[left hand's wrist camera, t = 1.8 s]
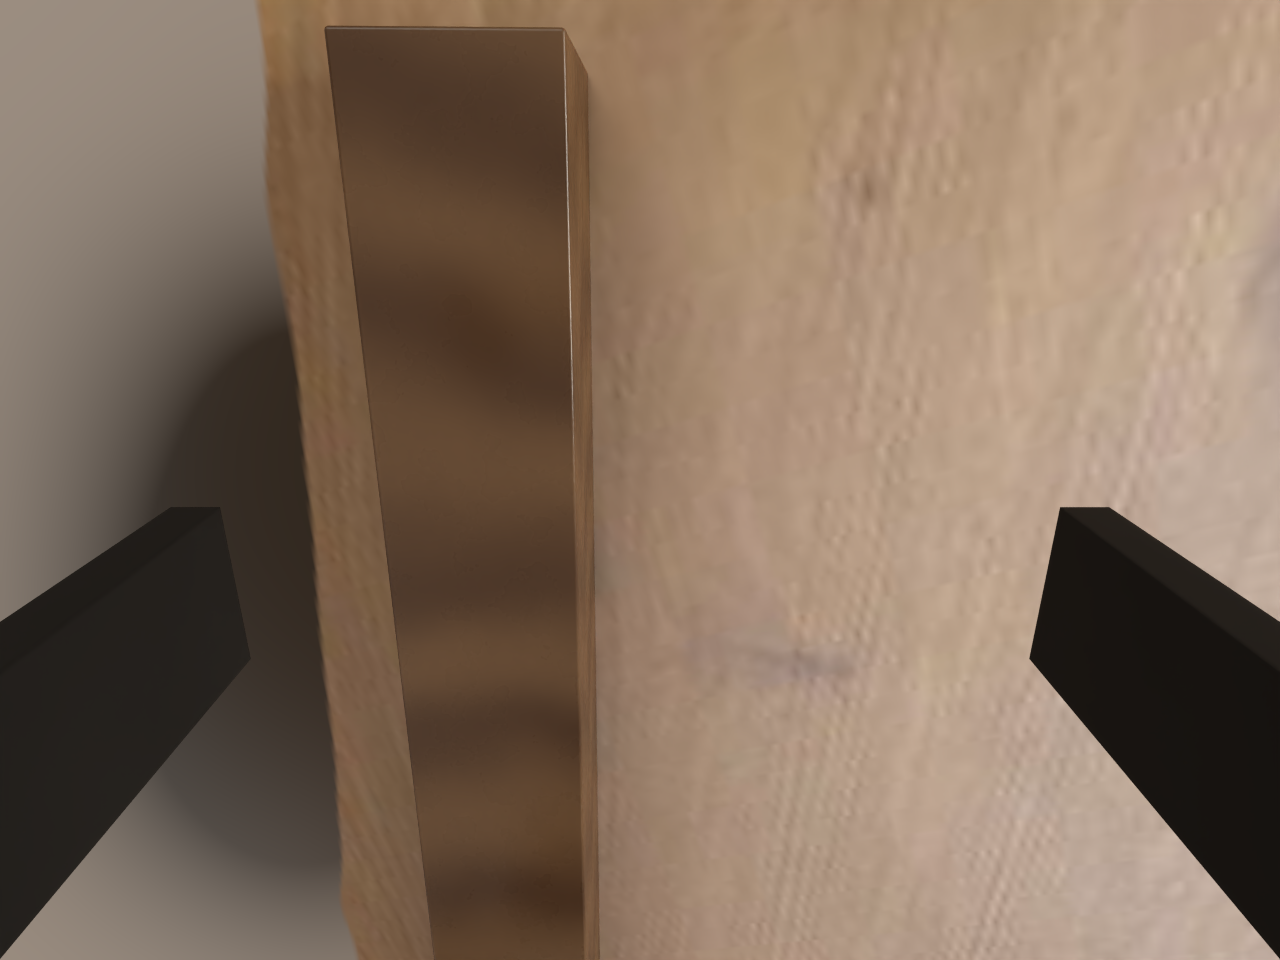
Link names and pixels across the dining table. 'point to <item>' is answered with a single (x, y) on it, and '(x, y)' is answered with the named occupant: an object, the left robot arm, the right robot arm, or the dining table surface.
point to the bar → (483, 459)
